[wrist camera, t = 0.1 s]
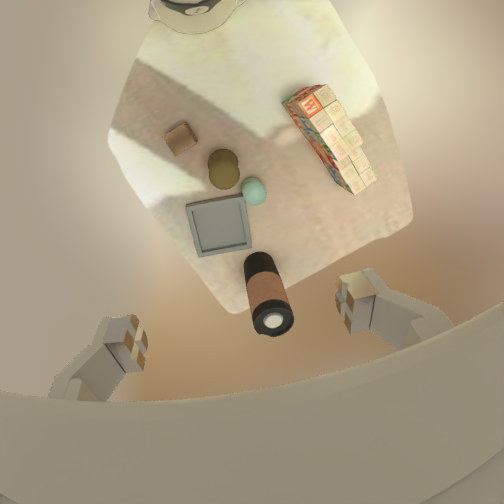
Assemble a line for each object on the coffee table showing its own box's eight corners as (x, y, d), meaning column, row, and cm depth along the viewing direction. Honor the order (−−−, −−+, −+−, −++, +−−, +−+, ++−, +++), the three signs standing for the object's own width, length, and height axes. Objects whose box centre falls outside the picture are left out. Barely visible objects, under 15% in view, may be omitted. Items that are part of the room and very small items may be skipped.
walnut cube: (166, 134, 50) (162, 136, 46) (186, 122, 49) (183, 123, 45) (178, 152, 52) (175, 156, 48) (197, 140, 51) (196, 143, 47)
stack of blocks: (357, 167, 58) (385, 183, 47) (335, 183, 59) (361, 202, 48) (304, 86, 48) (327, 83, 37) (280, 103, 49) (297, 102, 39)
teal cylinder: (239, 178, 56) (241, 185, 52) (260, 175, 56) (264, 181, 52) (242, 198, 58) (245, 207, 54) (263, 195, 59) (267, 203, 54)
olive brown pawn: (202, 169, 54) (199, 183, 45) (217, 143, 52) (217, 152, 43) (228, 183, 56) (231, 200, 47) (243, 158, 54) (250, 170, 45)
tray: (186, 204, 57) (185, 207, 56) (243, 193, 58) (243, 196, 56) (198, 253, 63) (198, 257, 62) (251, 243, 64) (252, 247, 62)
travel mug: (268, 245, 65) (288, 301, 47) (278, 271, 68) (299, 329, 51) (237, 258, 65) (246, 317, 48) (249, 282, 69) (261, 342, 52)
